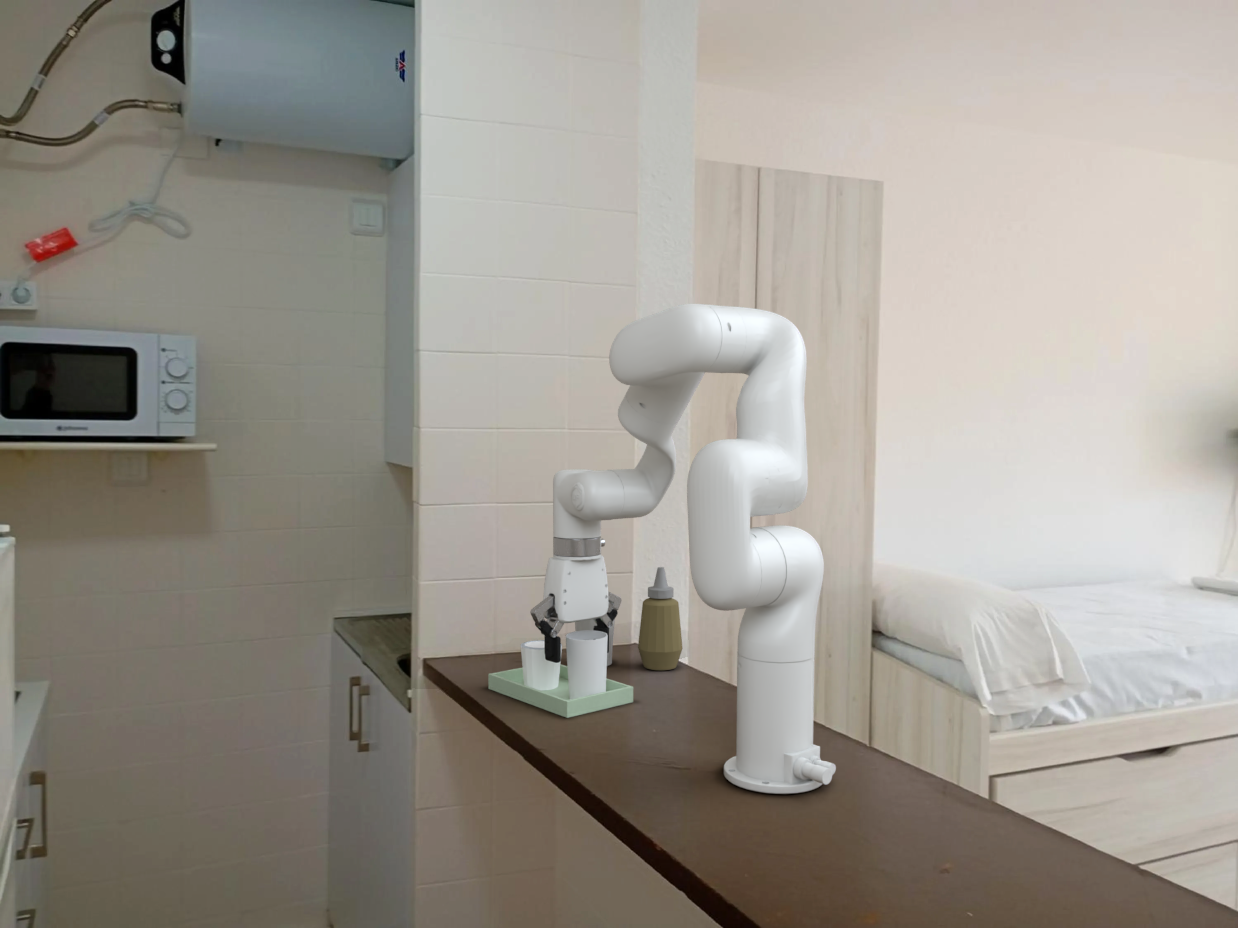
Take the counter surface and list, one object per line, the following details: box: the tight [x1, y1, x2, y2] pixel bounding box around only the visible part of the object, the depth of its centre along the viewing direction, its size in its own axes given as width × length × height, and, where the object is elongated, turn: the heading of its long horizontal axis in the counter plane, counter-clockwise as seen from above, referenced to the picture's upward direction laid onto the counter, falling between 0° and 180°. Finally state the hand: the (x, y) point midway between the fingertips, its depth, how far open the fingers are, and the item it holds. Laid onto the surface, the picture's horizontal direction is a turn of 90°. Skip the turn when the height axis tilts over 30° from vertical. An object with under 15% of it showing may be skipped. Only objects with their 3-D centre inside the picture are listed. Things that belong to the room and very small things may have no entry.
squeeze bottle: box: [637, 566, 683, 671], centre depth 184 cm, size 8×8×18 cm
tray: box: [487, 663, 634, 719], centre depth 166 cm, size 21×13×2 cm, turn 41°
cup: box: [574, 601, 616, 667], centre depth 188 cm, size 8×8×12 cm
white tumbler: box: [565, 630, 608, 700], centre depth 163 cm, size 7×7×10 cm
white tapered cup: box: [520, 639, 563, 691], centre depth 170 cm, size 7×7×7 cm
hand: (577, 656), depth 162 cm, fingers open, 9 cm apart
